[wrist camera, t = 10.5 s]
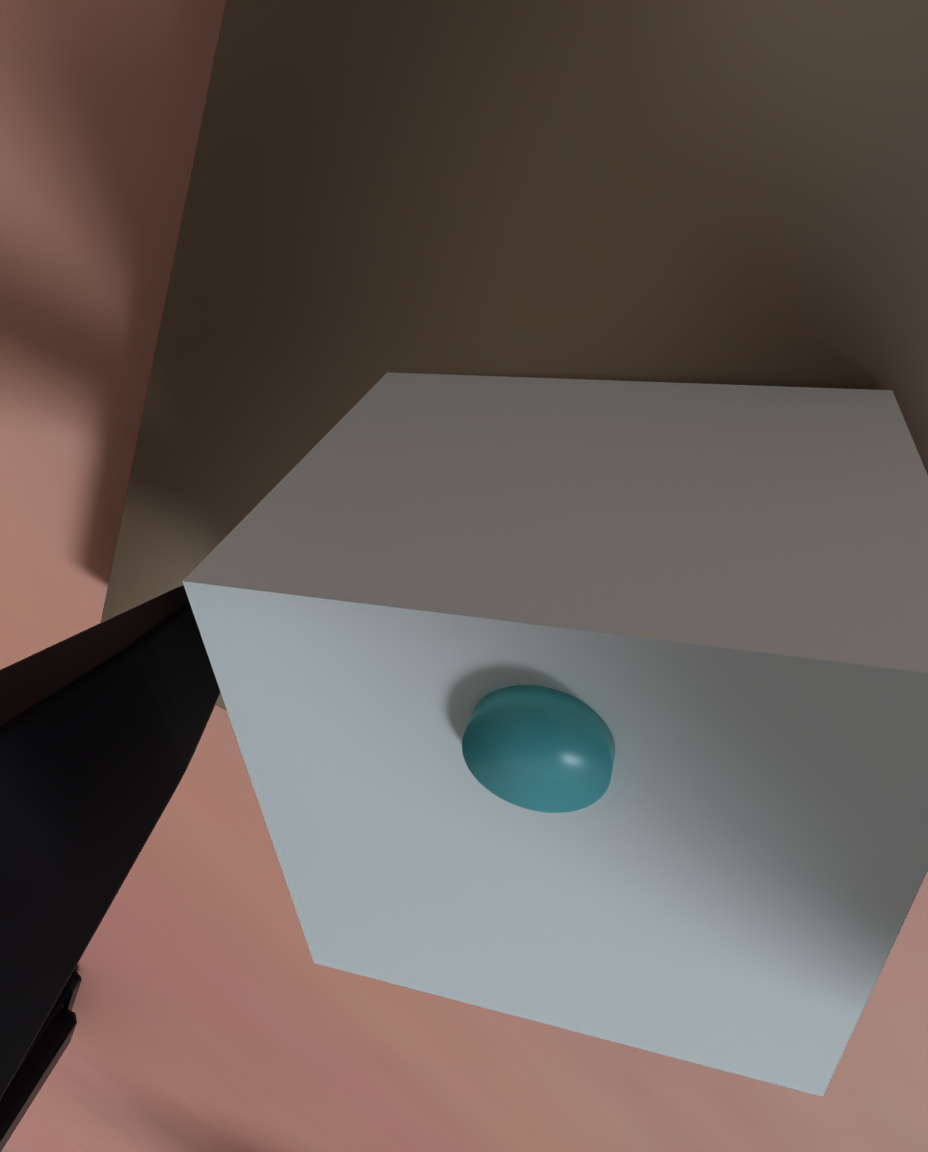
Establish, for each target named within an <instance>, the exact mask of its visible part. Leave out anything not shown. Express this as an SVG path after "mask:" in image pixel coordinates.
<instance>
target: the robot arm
mask: <svg viewBox="0 0 928 1152" xmlns="http://www.w3.org/2000/svg"><path fill="white" fill-rule="evenodd" d="M219 695H220V689H219V686H218V683H217V680H216V677H215V674H214V672H213V669H212V666H211V663H210V660H209V657H208V654H207V651H206V648H205V645H204V643H203V640H202V637H201V634H200V631H199V628H198V625H197V622H196V619H195V617H194V614H193V611H192V608H191V605H190V602H189V599H188V596H187V593H186V590H185V588H184V586H180V587H177V588H175V589H173V590H171V591H168V592H166V593H164V594H162V595H160V596H158V597H156V598H153V599H151V600H149V601H147V602H145V603H143V604H141V605H138V606H136V607H134V608H132V609H130V610H128V611H126V612H123V613H121V614H119V615H117V616H115V617H113V618H111V619H108V620H106V621H104V622H102V623H100V624H98V625H96V626H93V627H91V628H89V629H87V630H85V631H83V632H81V633H78V634H76V635H74V636H72V637H70V638H68V639H66V640H63V641H61V642H59V643H57V644H55V645H53V646H51V647H48V648H46V649H44V650H42V651H40V652H38V653H36V654H34V655H31V656H29V657H27V658H25V659H23V660H21V661H19V662H16V663H14V664H12V665H10V666H8V667H6V668H4V669H1V670H0V1152H1V1151H2V1149H3V1148H4V1146H5V1144H6V1143H7V1141H8V1140H9V1138H10V1136H11V1135H12V1133H13V1132H14V1130H15V1129H16V1127H17V1125H18V1124H19V1122H20V1121H21V1119H22V1117H23V1116H24V1114H25V1113H26V1111H27V1109H28V1108H29V1106H30V1105H31V1103H32V1102H33V1100H34V1098H35V1097H36V1095H37V1094H38V1092H39V1090H40V1089H41V1087H42V1086H43V1084H44V1083H45V1081H46V1079H47V1078H48V1076H49V1075H50V1073H51V1071H52V1070H53V1068H54V1067H55V1065H56V1064H57V1062H58V1060H59V1059H60V1057H61V1056H62V1054H63V1052H64V1051H65V1049H66V1048H67V1046H68V1044H69V1043H70V1040H71V1038H72V1035H73V1032H74V1029H75V1026H76V1024H77V1020H76V1014H75V1013H74V1012H72V1011H71V1010H72V1007H73V1004H74V1001H75V998H76V995H77V992H78V989H79V986H80V983H81V977H80V976H79V974H78V973H76V972H75V971H74V969H75V967H76V965H77V963H78V962H79V960H80V958H81V956H82V955H83V953H84V951H85V949H86V947H87V946H88V944H89V942H90V940H91V939H92V937H93V935H94V933H95V932H96V930H97V928H98V926H99V924H100V923H101V921H102V919H103V917H104V916H105V914H106V912H107V910H108V909H109V907H110V905H111V903H112V901H113V900H114V898H115V896H116V894H117V893H118V891H119V889H120V887H121V885H122V884H123V882H124V880H125V878H126V877H127V875H128V873H129V871H130V870H131V868H132V866H133V864H134V862H135V861H136V859H137V857H138V855H139V854H140V852H141V850H142V848H143V847H144V845H145V843H146V841H147V839H148V838H149V836H150V834H151V832H152V831H153V829H154V827H155V825H156V824H157V822H158V820H159V818H160V816H161V815H162V813H163V811H164V809H165V808H166V806H167V804H168V802H169V800H170V799H171V797H172V795H173V793H174V792H175V790H176V788H177V786H178V784H179V782H180V781H181V779H182V777H183V775H184V773H185V771H186V769H187V767H188V765H189V763H190V761H191V758H192V756H193V754H194V752H195V750H196V747H197V745H198V743H199V741H200V738H201V736H202V734H203V731H204V729H205V727H206V724H207V722H208V720H209V718H210V715H211V713H212V711H213V708H214V706H215V704H216V701H217V699H218V697H219Z"/></svg>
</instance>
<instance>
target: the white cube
mask: <svg viewBox="0 0 928 1152" xmlns="http://www.w3.org/2000/svg"><path fill="white" fill-rule="evenodd" d="M182 582H183V585H184V588H185V590H186V593H187V596H188V599H189V602H190V605H191V608H192V611H193V614H194V617H195V619H196V622H197V625H198V628H199V631H200V634H201V637H202V640H203V643H204V645H205V648H206V651H207V654H208V657H209V660H210V663H211V666H212V669H213V672H214V674H215V677H216V680H217V683H218V686H219V689H220V692H221V695H222V698H223V701H224V703H225V706H226V709H227V712H228V715H229V718H230V721H231V724H232V727H233V729H234V732H235V735H236V738H237V741H238V744H239V747H240V750H241V753H242V756H243V758H244V761H245V764H246V767H247V770H248V773H249V776H250V779H251V782H252V784H253V787H254V790H255V793H256V796H257V799H258V802H259V805H260V808H261V811H262V813H263V816H264V819H265V822H266V825H267V828H268V831H269V834H270V837H271V839H272V842H273V845H274V848H275V851H276V854H277V857H278V860H279V863H280V866H281V868H282V871H283V874H284V877H285V880H286V883H287V886H288V889H289V892H290V895H291V897H292V900H293V903H294V906H295V909H296V912H297V915H298V918H299V921H300V923H301V926H302V929H303V932H304V935H305V938H306V941H307V944H308V947H309V950H310V952H311V955H312V958H313V961H314V963H316V964H320V965H324V966H328V967H331V968H335V969H339V970H343V971H347V972H350V973H354V974H358V975H362V976H366V977H369V978H373V979H377V980H381V981H385V982H388V983H392V984H396V985H400V986H404V987H408V988H411V989H415V990H419V991H423V992H427V993H430V994H434V995H438V996H442V997H446V998H449V999H453V1000H457V1001H461V1002H465V1003H468V1004H472V1005H476V1006H480V1007H484V1008H487V1009H491V1010H495V1011H499V1012H503V1013H506V1014H510V1015H514V1016H518V1017H522V1018H525V1019H529V1020H533V1021H537V1022H541V1023H544V1024H548V1025H552V1026H556V1027H560V1028H563V1029H567V1030H571V1031H575V1032H579V1033H582V1034H586V1035H590V1036H594V1037H598V1038H601V1039H605V1040H609V1041H613V1042H617V1043H620V1044H624V1045H628V1046H632V1047H636V1048H639V1049H643V1050H647V1051H651V1052H655V1053H658V1054H662V1055H666V1056H670V1057H674V1058H678V1059H681V1060H685V1061H689V1062H693V1063H697V1064H700V1065H704V1066H708V1067H712V1068H716V1069H719V1070H723V1071H727V1072H731V1073H735V1074H738V1075H742V1076H746V1077H750V1078H754V1079H757V1080H761V1081H765V1082H769V1083H773V1084H776V1085H780V1086H784V1087H788V1088H792V1089H795V1090H799V1091H803V1092H807V1093H811V1094H814V1095H818V1096H822V1097H823V1095H824V1093H825V1090H826V1088H827V1086H828V1084H829V1082H830V1080H831V1077H832V1075H833V1073H834V1071H835V1069H836V1067H837V1065H838V1062H839V1060H840V1058H841V1056H842V1054H843V1052H844V1050H845V1047H846V1045H847V1043H848V1041H849V1039H850V1037H851V1034H852V1032H853V1030H854V1028H855V1026H856V1024H857V1022H858V1019H859V1017H860V1015H861V1013H862V1011H863V1009H864V1007H865V1004H866V1002H867V1000H868V998H869V996H870V994H871V991H872V989H873V987H874V985H875V983H876V981H877V979H878V976H879V974H880V972H881V970H882V968H883V966H884V963H885V961H886V959H887V957H888V955H889V953H890V951H891V948H892V946H893V944H894V942H895V940H896V938H897V936H898V933H899V931H900V929H901V927H902V925H903V923H904V920H905V918H906V916H907V914H908V912H909V910H910V908H911V905H912V903H913V901H914V899H915V897H916V895H917V893H918V890H919V888H920V886H921V884H922V882H923V880H924V877H925V875H926V873H927V871H928V475H927V472H926V470H925V468H924V465H923V463H922V460H921V458H920V456H919V453H918V451H917V448H916V446H915V444H914V441H913V439H912V436H911V434H910V432H909V429H908V427H907V424H906V422H905V420H904V417H903V415H902V412H901V410H900V408H899V405H898V403H897V400H896V398H895V396H894V393H893V391H892V390H867V389H839V388H811V387H783V386H755V385H727V384H700V383H672V382H644V381H616V380H588V379H560V378H532V377H504V376H476V375H448V374H420V373H392V372H387V373H386V374H385V375H384V376H383V377H382V378H381V379H380V380H379V381H378V382H377V383H376V384H375V385H374V386H373V388H372V389H371V390H370V391H369V392H368V393H367V394H366V395H365V396H364V397H363V398H362V399H361V400H360V401H359V402H358V403H357V404H356V405H355V406H354V407H353V408H352V409H351V410H350V411H349V412H348V413H347V414H346V415H345V416H344V417H343V418H342V419H341V420H340V421H339V422H338V423H337V424H336V425H335V426H334V427H333V428H332V429H331V430H330V431H329V432H328V433H327V434H326V435H325V436H324V437H323V438H322V439H321V440H320V442H319V443H318V444H317V445H316V446H315V447H314V448H313V449H312V450H311V451H310V452H309V453H308V454H307V455H306V456H305V457H304V458H303V459H302V460H301V461H300V462H299V463H298V464H297V465H296V466H295V467H294V468H293V469H292V470H291V471H290V472H289V473H288V474H287V475H286V476H285V477H284V478H283V479H282V480H281V481H280V482H279V483H278V484H277V485H276V486H275V487H274V488H273V489H272V490H271V491H270V492H269V493H268V494H267V496H266V497H265V498H264V499H263V500H262V501H261V502H260V503H259V504H258V505H257V506H256V507H255V508H254V509H253V510H252V511H251V512H250V513H249V514H248V515H247V516H246V517H245V518H244V519H243V520H242V521H241V522H240V523H239V524H238V525H237V526H236V527H235V528H234V529H233V530H232V531H231V532H230V533H229V534H228V535H227V536H226V537H225V538H224V539H223V540H222V541H221V542H220V543H219V544H218V545H217V546H216V547H215V548H214V550H213V551H212V552H211V553H210V554H209V555H208V556H207V557H206V558H205V559H204V560H203V561H202V562H201V563H200V564H199V565H198V566H197V567H196V568H195V569H194V570H193V571H192V572H191V573H190V574H189V575H188V576H187V577H186V578H185V579H184V580H183V581H182Z"/></svg>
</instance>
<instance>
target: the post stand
mask: <svg viewBox="0 0 928 1152" xmlns="http://www.w3.org/2000/svg"><path fill="white" fill-rule="evenodd" d="M387 372H392V373H420V374H448V375H476V376H504V377H532V378H560V379H588V380H616V381H644V382H672V383H700V384H727V385H755V386H783V387H811V388H839V389H867V390H892V391H893V393H894V396H895V398H896V400H897V403H898V405H899V408H900V410H901V412H902V415H903V417H904V420H905V422H906V424H907V427H908V429H909V432H910V434H911V436H912V439H913V441H914V444H915V446H916V448H917V451H918V453H919V456H920V458H921V460H922V463H923V465H924V468H925V470H926V472H927V475H928V0H226V5H225V10H224V15H223V20H222V25H221V30H220V34H219V39H218V44H217V49H216V54H215V59H214V64H213V69H212V74H211V79H210V84H209V89H208V94H207V99H206V104H205V109H204V114H203V119H202V124H201V129H200V133H199V138H198V143H197V148H196V153H195V158H194V163H193V168H192V173H191V178H190V183H189V188H188V193H187V198H186V203H185V208H184V213H183V218H182V223H181V228H180V233H179V237H178V242H177V247H176V252H175V257H174V262H173V267H172V272H171V277H170V282H169V287H168V292H167V297H166V302H165V307H164V312H163V317H162V322H161V327H160V332H159V337H158V341H157V346H156V351H155V356H154V361H153V366H152V371H151V376H150V381H149V386H148V391H147V396H146V401H145V406H144V411H143V416H142V421H141V426H140V431H139V436H138V440H137V445H136V450H135V455H134V460H133V465H132V470H131V475H130V480H129V485H128V490H127V495H126V500H125V505H124V510H123V515H122V520H121V525H120V530H119V535H118V540H117V544H116V549H115V554H114V559H113V564H112V569H111V574H110V579H109V584H108V589H107V594H106V599H105V604H104V609H103V614H102V619H101V623H102V622H104V621H106V620H108V619H111V618H113V617H115V616H117V615H119V614H121V613H123V612H126V611H128V610H130V609H132V608H134V607H136V606H138V605H141V604H143V603H145V602H147V601H149V600H151V599H153V598H156V597H158V596H160V595H162V594H164V593H166V592H168V591H171V590H173V589H175V588H177V587H180V586H184V585H183V582H182V581H183V580H184V579H185V578H186V577H187V576H188V575H189V574H190V573H191V572H192V571H193V570H194V569H195V568H196V567H197V566H198V565H199V564H200V563H201V562H202V561H203V560H204V559H205V558H206V557H207V556H208V555H209V554H210V553H211V552H212V551H213V550H214V548H215V547H216V546H217V545H218V544H219V543H220V542H221V541H222V540H223V539H224V538H225V537H226V536H227V535H228V534H229V533H230V532H231V531H232V530H233V529H234V528H235V527H236V526H237V525H238V524H239V523H240V522H241V521H242V520H243V519H244V518H245V517H246V516H247V515H248V514H249V513H250V512H251V511H252V510H253V509H254V508H255V507H256V506H257V505H258V504H259V503H260V502H261V501H262V500H263V499H264V498H265V497H266V496H267V494H268V493H269V492H270V491H271V490H272V489H273V488H274V487H275V486H276V485H277V484H278V483H279V482H280V481H281V480H282V479H283V478H284V477H285V476H286V475H287V474H288V473H289V472H290V471H291V470H292V469H293V468H294V467H295V466H296V465H297V464H298V463H299V462H300V461H301V460H302V459H303V458H304V457H305V456H306V455H307V454H308V453H309V452H310V451H311V450H312V449H313V448H314V447H315V446H316V445H317V444H318V443H319V442H320V440H321V439H322V438H323V437H324V436H325V435H326V434H327V433H328V432H329V431H330V430H331V429H332V428H333V427H334V426H335V425H336V424H337V423H338V422H339V421H340V420H341V419H342V418H343V417H344V416H345V415H346V414H347V413H348V412H349V411H350V410H351V409H352V408H353V407H354V406H355V405H356V404H357V403H358V402H359V401H360V400H361V399H362V398H363V397H364V396H365V395H366V394H367V393H368V392H369V391H370V390H371V389H372V388H373V386H374V385H375V384H376V383H377V382H378V381H379V380H380V379H381V378H382V377H383V376H384V375H385V374H386V373H387ZM215 705H217V706H219V707H221V708H223V709H225V710H226V711H227V709H226V706H225V703H224V701H223V698H222V695H221V692H220V695H219V697H218V699H217V701H216V704H215Z"/></svg>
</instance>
